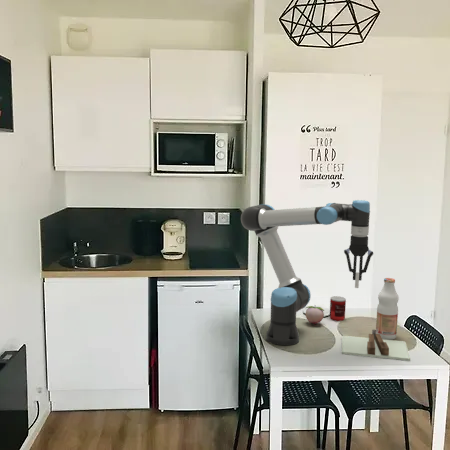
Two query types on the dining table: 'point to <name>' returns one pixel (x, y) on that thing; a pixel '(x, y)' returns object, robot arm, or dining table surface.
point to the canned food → (337, 308)
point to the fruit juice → (387, 311)
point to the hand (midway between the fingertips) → (356, 287)
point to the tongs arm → (381, 345)
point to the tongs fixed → (371, 343)
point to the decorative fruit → (314, 314)
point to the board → (360, 348)
